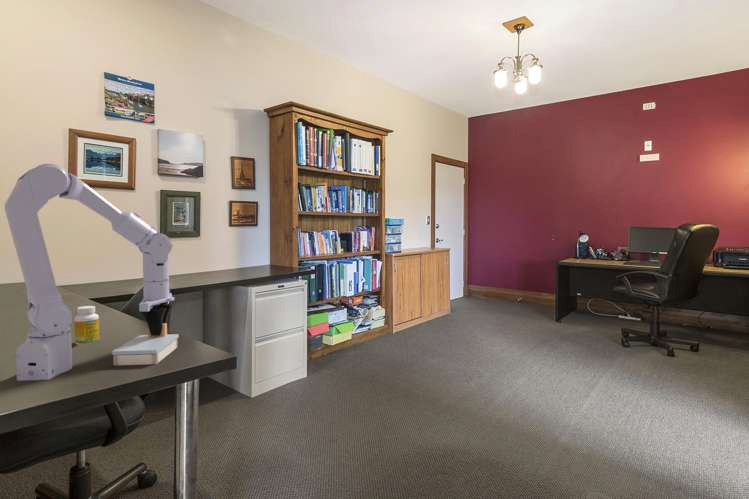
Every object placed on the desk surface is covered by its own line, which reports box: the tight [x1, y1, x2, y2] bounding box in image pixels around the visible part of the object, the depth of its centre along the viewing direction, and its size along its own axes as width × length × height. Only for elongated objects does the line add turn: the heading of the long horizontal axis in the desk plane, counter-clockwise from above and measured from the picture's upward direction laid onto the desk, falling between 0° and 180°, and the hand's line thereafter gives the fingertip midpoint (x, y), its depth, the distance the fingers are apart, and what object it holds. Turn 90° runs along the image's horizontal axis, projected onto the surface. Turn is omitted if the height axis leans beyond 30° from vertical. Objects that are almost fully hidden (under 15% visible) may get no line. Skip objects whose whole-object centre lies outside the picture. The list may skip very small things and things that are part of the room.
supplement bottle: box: [73, 305, 100, 346], centre depth 110 cm, size 5×5×10 cm
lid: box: [111, 322, 180, 356], centre depth 97 cm, size 13×9×4 cm
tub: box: [112, 337, 179, 366], centre depth 97 cm, size 13×9×3 cm
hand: (157, 334), depth 103 cm, fingers closed on lid, 2 cm apart
